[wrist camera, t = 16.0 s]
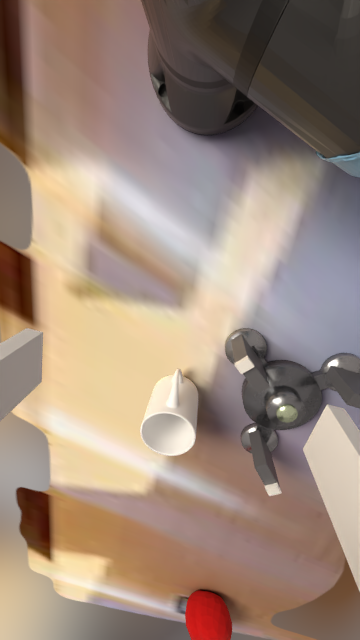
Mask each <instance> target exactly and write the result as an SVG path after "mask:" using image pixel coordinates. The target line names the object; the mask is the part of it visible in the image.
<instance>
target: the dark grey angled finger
mask: <svg viewBox="0 0 360 640" xmlns="http://www.w3.org/2000/svg"><path fill="white" fill-rule="evenodd" d="M249 438H250V443H251V449H252V455H253V460H254V466H255V469H256V471H257V472H258V474H259V476H260V478H261V479H262V481H263V483H264V485H265V489H266V491H267V493H268V495H269V496H272V495H276V494H280V493H281V489H280V486H279V482H278V478H277V474H276V471H275V467H274V463H273V459H272V455H271V452H270V450H269V448H268V446H267V444H266V442H265V441H264V439H263V437H262V435H261V433H260V431H259V430H256V431H253V432H250V433H249Z"/></svg>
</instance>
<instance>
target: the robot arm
mask: <svg viewBox="0 0 360 640" xmlns="http://www.w3.org/2000/svg"><path fill="white" fill-rule="evenodd" d="M141 2H142V5H143V8H144V11H145V14H146V17H147V20H148V24H149V27H150V32H149V39H148V65H149V72H150V77H151V81H152V84H153V87H154V90H155V92H156V95H157V97H158V99H159V101H160V103H161V105H162V107H163V109H164V110H165V112H166V113H167V114H168V116H169V117H170V118H171V119H172V120H173V121H174V122H175V123H177V124H178V125H179V126H181V127H182V128H184V129H186V130H188V131H190V132H193V133H196V134H201V135H214V134H219V133H223V132H226V131H228V130H231V129H233V128H234V127H236V126H238V125H239V124H241V123H242V122H243V121H244V120H245V119H247V118H248V117H249V116H250V115H251V114H252V112H253V111H254V110H255V109H256V108H257V106H259V107H261V108H262V109H263V110H265V111H266V112H267V113H268V114H270V115H271V116H272V117H274V118H275V119H276V120H277V121H279V122H280V123H281V124H283V125H284V126H285V127H286V128H288V129H289V130H290V131H292V132H293V133H294V134H296V135H297V136H298V137H299V138H301V139H302V140H303V141H305V142H306V143H307V144H308V145H310V146H311V147H312V148H314V149H315V150H316V154H317V155H318V157H319V158H321V159H322V160H324V161H328V162H332V163H333V164H335V165H336V166H338V167H339V168H340V169H342V170H343V171H345V172H346V173H348V174H349V175H351V176H354V177H360V0H141ZM42 346H43V332H40V331H36V330H32V329H28V328H26V329H24V330H23V331H21V332H19V333H18V334H16V335H14V336H12V337H11V338H9V339H7V340H6V341H4V342H2V343H0V421H1V420H2V419H3V418H4V417H5V416H6V415H7V414H8V413H9V412H10V411H11V410H12V409H14V408H15V407H16V406H17V405H18V404H19V403H20V402H21V401H22V400H23V399H24V398H25V397H26V396H27V395H28V394H29V393H30V392H31V391H32V390H33V389H34V388H36V387H37V386H38V385H39V384H40V383H41V380H42ZM303 451H304V454H305V456H306V459H307V461H308V464H309V466H310V469H311V471H312V474H313V476H314V479H315V481H316V484H317V486H318V489H319V491H320V494H321V496H322V499H323V501H324V504H325V506H326V509H327V511H328V514H329V516H330V519H331V521H332V524H333V526H334V529H335V531H336V534H337V536H338V539H339V541H340V544H341V546H342V549H343V551H344V554H345V556H346V559H347V561H348V564H349V566H350V568H351V571H352V574H353V576H354V578H355V581H356V583H357V586H358V589H359V591H360V431H359V429H358V428H357V426H356V425H355V423H354V422H353V421H352V419H351V418H350V416H349V415H348V414H347V412H346V411H345V409H343V408H339V407H335V406H332V405H328V404H327V405H326V407H325V409H324V411H323V413H322V415H321V416H320V418H319V420H318V422H317V424H316V426H315V428H314V430H313V431H312V433H311V435H310V437H309V439H308V441H307V443H306V444H305V446H304V448H303Z"/></svg>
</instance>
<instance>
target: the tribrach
mask: <svg viewBox="0 0 360 640" xmlns="http://www.w3.org/2000/svg"><path fill="white" fill-rule="evenodd" d="M240 334H242V335H243V337H244V338H245V340H246V341H247V342H248V344H249V345H250V346H251V348H252V349H253V351H254V352H255V353H256V355H257V356H258V357H259V359H260V360H261V362H262V365H263V368H264V371H265V373H266V376H267V379H268V382H269V385H270V388H268V389H266V390H264V391H262V392H260V393H257V392H256V390H255V389H254V388H253V386H252V385H251V384H250V382H249V381H248V380H247V378H246V379H245V381H244V383H243V386H242V398H243V403H244V408H245V411H246V412H247V414H248V415H249V417H250V418H251V419H252V420H253V421H254V422H256V423H253V424H250V425H248V426H247V427H245V428H244V429H243V431H242V433H241V442H242V445H243V447H244V449H245V450H246V451H248V452H250V453H252V449H251V443H250V438H249V433H250V432H253V431H256V430H259V431H260V433H261V435H262V437H263V439H264V441H265V442H266V444H267V446H268V448H269V450H270V452H272V451H273V450H274V449H275V448H276V447H277V444H278V438H277V435H276V432H275V430H287V429H292V428H296V427H299V426H301V425H303V424H305V423H306V422H308V421H309V420H310V419H312V418H313V417H314V415H315V414H316V413H317V411H318V410H319V408H320V405H321V401H322V393H321V390H323V389H326V388H330V389H332V390H334V391H337V390H336V389H335V388H334V386H333V385H332V384H331V382H330V381H329V380H328V378H327V377H326V373H327V371H328V370H329V368H330V366H331V365H332V366H335V367H338V368H342V369H345V370H348V371H352V372H355V373H358V374H360V359H359V358H358V357H357V356H355V355H353V354H350V353H339V354H336V355H333V356H331V357H330V358H328V359H327V360H326V361H325V362H324V363H323V365H322V367H321V370H319V371H316V372H313V373H310V372H309V371H308V370H307V369H306V368H305V367H303V366H302V365H300V364H298V363H295V362H292V361H287V360H275V361H270V362H267V361H266V360H265V358H264V357H265V355H266V352H267V345H266V342H265V340H264V338H263V336H262V335H261V334H260V333H259V332H257V331H255V330H253V329H249V328H243V329H239V330H236V331H234V332H233V333H231V334H230V335H229V337H228V338H227V340H226V343H225V352H226V356H227V358H228V359H229V361H230V362H231V363H233V364H234V363H235V362H234V355H233V349H232V343H231V340H232V339H234V338H235V337H237V336H239V335H240ZM234 365H235V364H234Z"/></svg>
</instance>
